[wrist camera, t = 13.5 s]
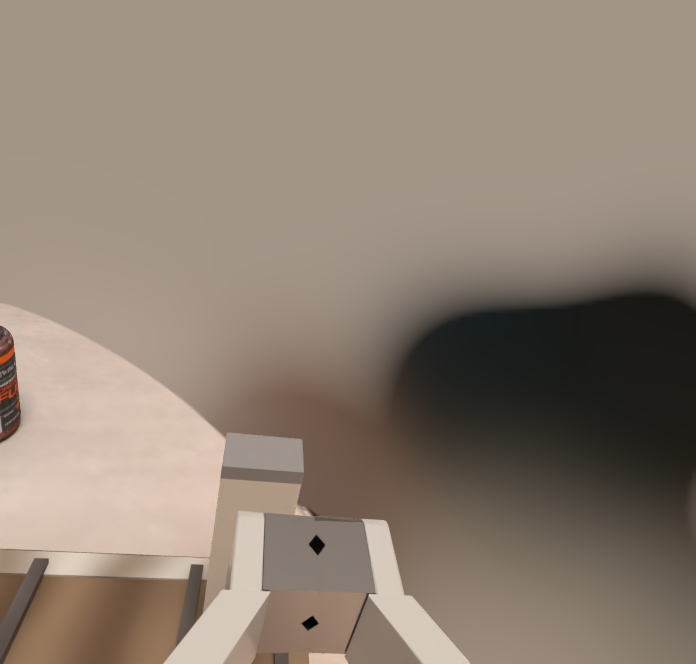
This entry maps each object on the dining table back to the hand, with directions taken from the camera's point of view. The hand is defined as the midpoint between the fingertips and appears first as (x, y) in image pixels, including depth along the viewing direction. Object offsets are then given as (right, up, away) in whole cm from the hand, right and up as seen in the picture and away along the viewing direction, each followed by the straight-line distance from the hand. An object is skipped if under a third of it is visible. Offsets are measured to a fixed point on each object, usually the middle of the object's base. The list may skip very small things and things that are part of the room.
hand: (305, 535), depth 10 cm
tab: (-6, -13, +21) cm, 26 cm away
